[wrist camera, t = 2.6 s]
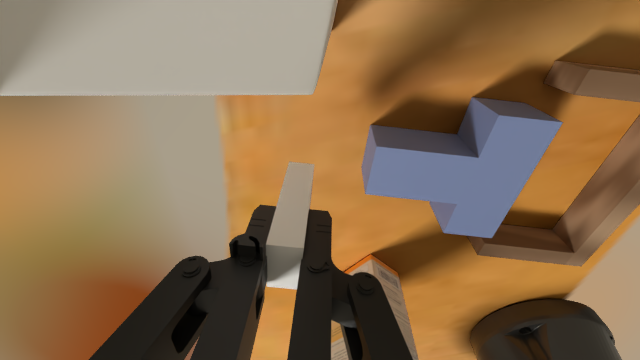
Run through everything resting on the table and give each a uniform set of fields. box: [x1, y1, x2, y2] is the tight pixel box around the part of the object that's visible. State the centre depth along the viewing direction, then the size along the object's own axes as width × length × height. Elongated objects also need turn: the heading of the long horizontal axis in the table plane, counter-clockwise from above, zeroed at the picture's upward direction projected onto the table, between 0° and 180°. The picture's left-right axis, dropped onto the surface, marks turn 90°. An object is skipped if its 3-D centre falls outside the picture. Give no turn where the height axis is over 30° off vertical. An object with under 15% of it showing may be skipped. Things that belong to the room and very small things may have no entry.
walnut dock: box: [467, 61, 640, 266], centre depth 22 cm, size 16×10×3 cm, turn 174°
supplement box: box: [331, 254, 418, 360], centre depth 26 cm, size 8×5×13 cm, turn 138°
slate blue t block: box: [362, 97, 563, 238], centre depth 21 cm, size 11×10×4 cm
